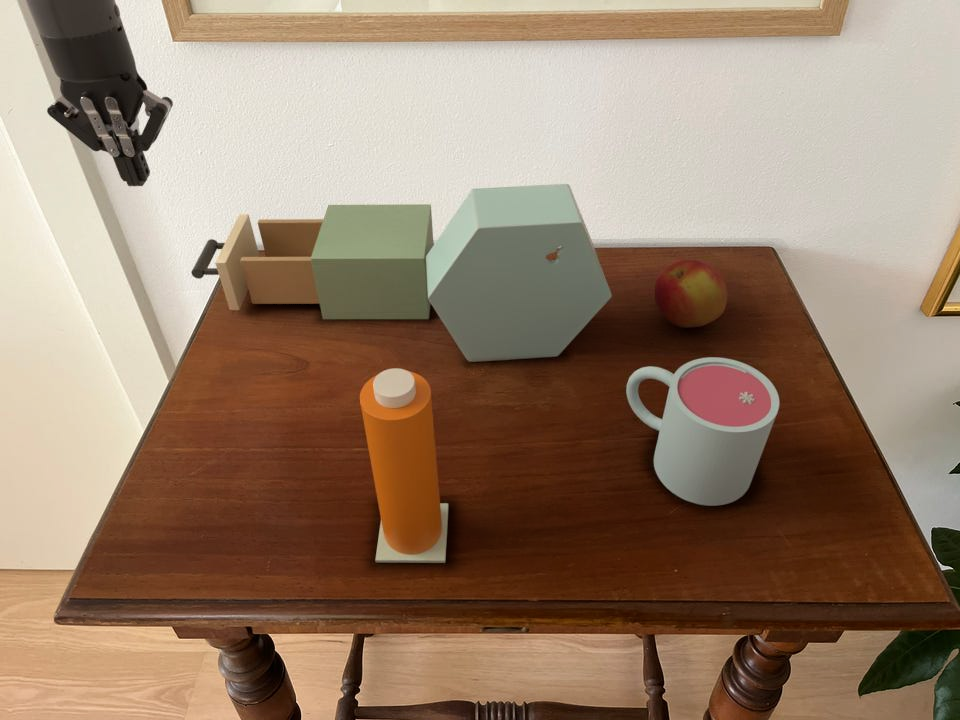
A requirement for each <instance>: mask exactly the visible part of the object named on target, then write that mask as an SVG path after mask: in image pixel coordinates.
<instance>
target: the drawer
mask: <svg viewBox="0 0 960 720" xmlns="http://www.w3.org/2000/svg"><path fill="white" fill-rule="evenodd" d="M323 220H324V218H314V219H313V218H310V219H309V218H307V219H305V218H304V219H303V218H302V219H301V218H299V219H294V218H293V219H292V218H290V219H281V218H280V219H278V218H277V219H276V218H275V219H274V218H273V219H271V218H270V219H269V218H268V219H266V218H265V219H258V221H257V226H258V230H259V234H260V240H261V242H262V246H263V250H264V254H265V256H260V252H259V248H258V244H257V242H256V237H255V234H254V233H255V232H254V230H253V226H252V221H251V218H250V215H249V214H247V213H246V214H245V213H244V214H242V213H241V214H240V213H239V214H238V216H237V218H236V220H235V222H234V224H233V227H232V228H231V231H230V232H229V235H228V236H227V238H226V240H225V242H218V241H217V240H216V239H212V238H210V239H208V240H207V242H205V245H204V247H203V249H202V250H201V252H200V254H199V256H198V258H197V259H196V262H195V264H194V266H193V268H192V269H191V272H190V273H191V276H192V277H193V278H195V279H199V280H200V279H203V278H204V276H218V277H219V279H220V283H221V286H222V289H223V292H224V295H225V299H226V303H227V305H228V308H229V310H230V311H240V310H241V308H242V306H243V303H244V300H245V298H246V296H247V293H249V295H250V299H251V300H250V301H251V304H253V305H273V304H275V305H276V304H277V305H283V304H284V305H285V304H286V305H289V304H290V305H291V304H292V305H293V304H294V305H295V304H296V305H297V304H298V305H299V304H301V305H304V304H305V305H306V304H309V305H314V304H315V305H320V303H319V298H318V293H317V288H316V283H315V278H314V273H313V268H312V263H311V256H312V253H313V250H314V247H315V244H316V241H317V238H318V235H319V232H320V229H321V226H322V223H323ZM217 250H220V252H219V254H218V257H217V258H216V260H215V262H214V264H215V267H216V268H215V267H213V268H211V267H209V266H210V264H211V262H212V260H213V258H214V256H215V254H216V252H217Z"/></svg>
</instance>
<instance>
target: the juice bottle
mask: <svg viewBox="0 0 960 720" xmlns="http://www.w3.org/2000/svg"><path fill="white" fill-rule="evenodd" d="M359 403H360V409H361V415H362V421H363V425H364V431H365V436H366V442H367V448H368V453H369V458H370V464H371V465H370V466H371V471H372V476H373V482H374V487H375V493H376V498H377V504H378V510H379V516H380V523H381V522H382V527H383V533H384V538H385V540H386V542H387V544H388V545H389V546H390V547H391V548H392V549H394V550H395V551H397V552H400V553H403V554H418V553H422V552H425V551H427V550H428V549H430V548H431V547H433V546H434V545H435V544H436V543H437V541H438V540H439V538H440V536H441V533H442V520H441V508H440V503H441V497H440V496H441V495H440V485H439V473H438V461H437V449H436V439H435V438H436V437H435V435H436V434H435V425H434V413H433V402H432V389H431V386H430V384H429V382H428V381H427V380H426V378H424V377H423V376H422V375H420V374H418V373H416V372H414V371H410V370H406V369H403V368H399V367H396V368H395V367H394V368H387V369H385V370H382V371H380V372H379V373H378V374H376V375H374V376H372V377H371V378H370V379H369V380H367V381H366V383H364V385H363V386H362V388H361V390H360V393H359Z"/></svg>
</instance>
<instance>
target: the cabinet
mask: <svg viewBox="0 0 960 720" xmlns="http://www.w3.org/2000/svg"><path fill="white" fill-rule="evenodd" d="M323 219H324V220H323V223H322V226H321V229H320V232H319V235H318V238H317V241H316V244H315V247H314V250H313V253H312V256H311V263H312V268H313V273H314V278H315V283H316V288H317V293H318V298H319V303H320V304H319V308H320V311H321V316H322V320H430V314H431V313H430V312H431V305H432V304H431V303H430V301H429V300H428V289H427V268H426V256H427V254H428V253H429V251H430V250H431V248H432V247H433V245H434V244H435V243H434V231H433V230H434V229H433V216H432V204H431V203H429V204H427V203H426V204H423V203H422V204H421V203H420V204H418V203H417V204H328V205H327V207H326V211H325V213H324V217H323Z"/></svg>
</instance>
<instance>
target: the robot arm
mask: <svg viewBox="0 0 960 720" xmlns="http://www.w3.org/2000/svg"><path fill="white" fill-rule="evenodd" d="M25 3H26V5H27V8H28V10H29V13H30V15H31V17H32V20H33V23H34V25H35V27H36V30H37V32H38V35H39V37H40V40H41V42H42V45H43V47H44V49H45V51H46V54H47V56H48V59H49V62H50V64H51V67H52V70H53V71H54V74H55V75H56V76H57V77H58V78H59V80H60V85H59V92H60V94H61V95H60V96H59V97H58V98H57V99H56V100H55V101H54V102H52V104H50V106H48V107H47V108H46V113H47V114H48V116H49V117H50V118H52V119H53V120H54V121H55V122H56V123H58V124H59V125H61V126H62V127H63V128H65V130H67V131H68V132H69V133H70V134H72V135H73V136H74V137H75V138H77V139H78V141H80V142H82V144H83V145H85V146H87V147H88V148H89V149H90V150H92V151H94V152H100V151H102V152H105V153H107V154H109V156H111V157H112V159H113V162H114V165H115V167H116V169H117V172H118V175H119V178H120V179H121V180H122V181H123V182H126V184H127V186H128V187H143V186H144V185H145V184H146V182H147V181H148V179H149V177H150V175H151V170H150V167H149V165H148V161H147V159H146V155H145V153H144V152H147V151H149V150H150V148H151V146H152V145H153V144H154V143H155V142H156V141H157V139H158V137H159V135H160V132H161V131H162V129H163V126H164V124H165V122H166V120H167V118H168V116H169V114H170V112H171V110H172V108H173V106H174V102H173V100H172V99H171V98H170V97H168V96H162V97H160V96H158V95H156V94H155V93H153V92H152V91H150V90H148V86H147V83H146V81H145V80H144V79H143V78H142V77H141V75H140V74H139V72H138V70H137V67H136V66H137V65H136V60H135V57H134V54H133V50H132V48H131V45H130V41H129V39H128V36H127V33H126V29H125V27H124V24H123V21H122V17H121V12H120V8H119V6H118V4H117V3H116V0H25ZM143 104H144V106H145V108H144V112H145V115H146V116H147V117H148V119H147V121H146V124H145V126H144V127H143V130H142V133H141V131H140V119H139V116H138V115H139V113H140V112H141V109H142V107H143Z"/></svg>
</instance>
